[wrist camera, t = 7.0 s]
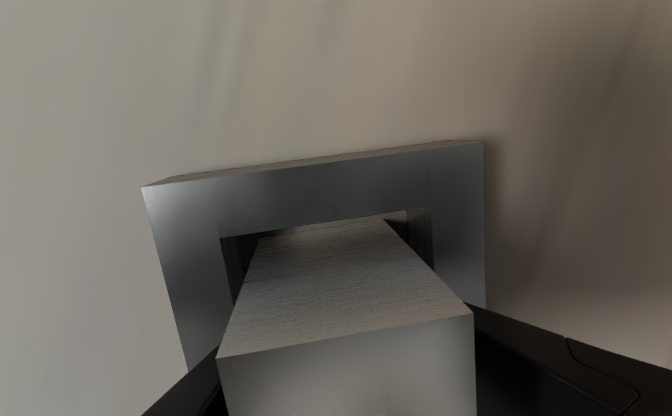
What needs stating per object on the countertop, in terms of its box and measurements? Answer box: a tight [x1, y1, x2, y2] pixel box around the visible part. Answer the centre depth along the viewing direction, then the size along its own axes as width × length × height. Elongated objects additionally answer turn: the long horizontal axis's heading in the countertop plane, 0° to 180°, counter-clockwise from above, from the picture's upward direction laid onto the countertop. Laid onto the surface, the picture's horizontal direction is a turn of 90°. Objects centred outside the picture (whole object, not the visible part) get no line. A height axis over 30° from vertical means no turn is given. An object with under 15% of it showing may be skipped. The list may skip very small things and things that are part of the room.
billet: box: [215, 219, 477, 416], centre depth 8 cm, size 4×4×6 cm
